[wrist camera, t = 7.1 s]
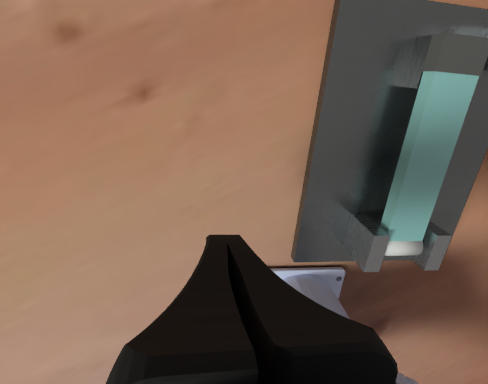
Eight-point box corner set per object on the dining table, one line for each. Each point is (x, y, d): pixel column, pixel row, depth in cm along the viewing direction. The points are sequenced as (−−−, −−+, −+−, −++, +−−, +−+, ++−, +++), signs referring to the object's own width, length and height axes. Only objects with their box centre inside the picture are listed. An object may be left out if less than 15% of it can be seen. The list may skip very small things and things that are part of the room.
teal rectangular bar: (406, 247, 24) (420, 259, 22) (370, 248, 23) (382, 260, 22) (473, 40, 18) (498, 38, 17) (429, 35, 18) (450, 31, 16)
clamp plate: (436, 254, 27) (490, 296, 22) (291, 256, 25) (314, 304, 20) (528, 19, 20) (637, 3, 15) (336, -9, 18) (391, -39, 13)
